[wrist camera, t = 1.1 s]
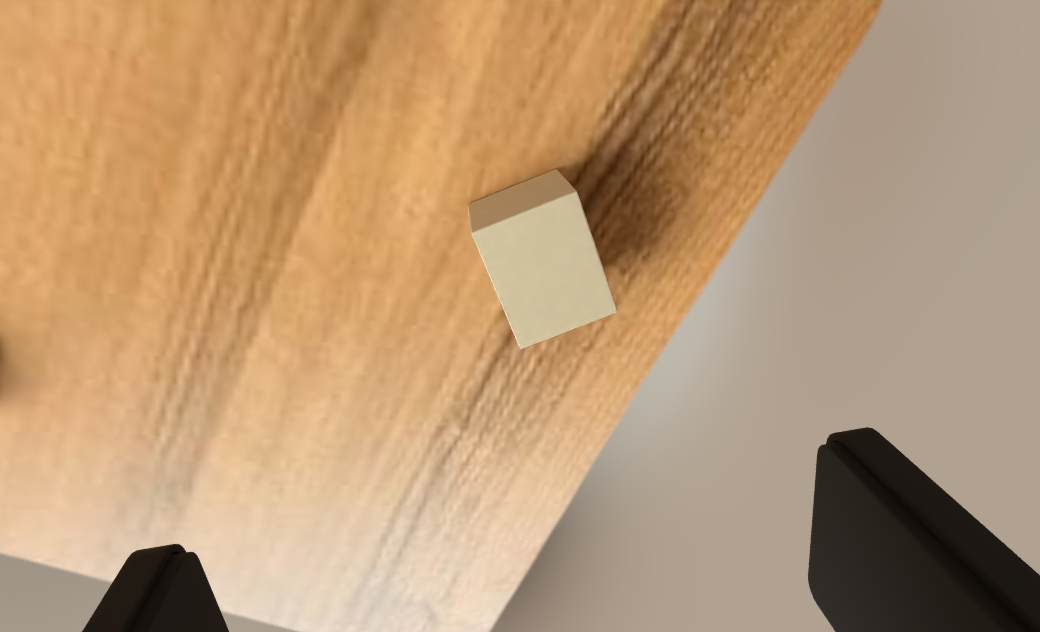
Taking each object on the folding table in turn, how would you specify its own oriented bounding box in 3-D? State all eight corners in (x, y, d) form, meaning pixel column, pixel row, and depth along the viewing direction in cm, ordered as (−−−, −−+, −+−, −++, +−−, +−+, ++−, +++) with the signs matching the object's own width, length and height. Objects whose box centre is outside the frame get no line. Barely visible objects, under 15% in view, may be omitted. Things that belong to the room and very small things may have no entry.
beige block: (556, 168, 27) (576, 190, 23) (593, 273, 29) (618, 312, 25) (467, 204, 27) (470, 232, 23) (509, 306, 29) (520, 350, 25)
